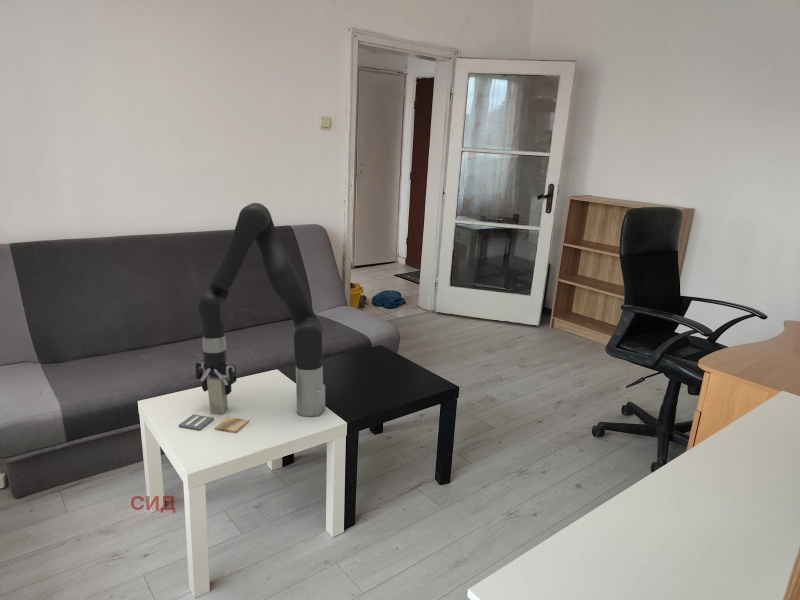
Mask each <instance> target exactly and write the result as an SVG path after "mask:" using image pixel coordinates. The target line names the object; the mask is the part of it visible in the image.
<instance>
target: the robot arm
mask: <svg viewBox="0 0 800 600" xmlns="http://www.w3.org/2000/svg"><path fill="white" fill-rule="evenodd" d="M254 242H256V244H257V246H258V249H259V251H260V256H261V260H262V265H263V269H264V272H265V276H266V277H267V280H268V282H269V284H270V286H271V289H272V290H273V292H274V293H275V296H277V298H278V299H279V300H280V301H281V302H282V304H283V305H284V306H285V307H286V309H287V310H288V313H289V315H290V317H291V319H292V323H293V324H294V327H295V331H294V334H293V339H294V340H293V349H294V361H295V391H296V392H295V393H296V395H295V396H296V413H297V414H298V415H300V416H302V417H315V416H316V417H320V416H321V414H322V413H323V412H324V411H325V410H326V384H324V378H323V377H324V376H323V374H324V371H323V370H324V369H323V367H324V364H323V363H324V361H323V331H324V330H323V326H322V324H321V322H320V321H319V318H318V317H317V316H316V314H315V311H313V309H312V307H311V305H310V303H309V301H308V299H307V296H306V293H305V290H304V287H303V285H302V283H301V281H300V278H299V275H298V273H297V272H296V269H295V267H294V265H293V262H292V261H291V258H290V257H289V255H288V253H287V252H286V249H285V248H284V246H283V244H282V241H281V240H280V237H279V235H278V232H277V230H276V227H275V224H274V221H273V218H272V214H271V213H270V211H269V209H268V208H267V207H266V206H265V205H264V204H262V203H260V202H259V203H258V202H252V203H250V204H247V205H246V206H244V207H242V209H240V211H239V215H238V217H237V220H236V224H235V228H234V231H233V234H232V236H231V239H230V241H229V244H228V246H227V248H226V249H225V252H224V254H222V257H221V259H220V260H219V262H218V264H217V267H216V268H215V271H214V272H213V274H212V277H211V282H210V284H209V287H208V288H207V290H206V292H205V293H203V294H202V295H201V296H200V297H199V299H198V305H197V307H198V308H197V309H198V313H199V317H200V321H201V325H202V328H201V329H202V357H203V359H202V360H199V361H198V362H196V363H195V379H197V380H200V382H201V389H202V391H203V392H208V385H207V379H208V378H209V377H210V376H211V377H217V378H220V379H221V380H222V381H223V382H224V383H225V395H227V396H228V395H230V394H231V393H232V385H233V384H235V383H236V382H237V372H236V365H230V366H229V365H227V359H228V358H227V341H226V336H225V335H226V333H225V331H226V330H225V322H224V320H223V318H221V316H222V315H221V308H222V307H223V306H224V305H225V304H226V301H227V299H228V297H229V294H230V291H231V289H232V287H233V286H234V283H235V282H236V280H237V279H238V276H239V274H240V273H241V270H242V268H243V264H244V263H245V260H246V256H247V254H248V252H249V250H250V249H251V247H252V244H253V243H254ZM204 370H205V372H204ZM223 375H224V376H223Z"/></svg>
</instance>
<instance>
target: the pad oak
mask: <svg viewBox="0 0 800 600" xmlns="http://www.w3.org/2000/svg"><path fill="white" fill-rule="evenodd" d="M249 423H250V420H249V419H244V418H237V417H231V416H226V417H225V418H224V419H223V420H222V421H221V422H219V423H218V424H216V426H214V427H213V428H214V431H220V432H224V431H225V432H226V433H230V432H231V434H238V433H240V431H242V429H243V428H244V427H246V426H247V425H248V424H249ZM246 424H247V425H246ZM237 432H238V433H237Z"/></svg>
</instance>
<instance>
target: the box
mask: <svg viewBox="0 0 800 600" xmlns="http://www.w3.org/2000/svg"><path fill="white" fill-rule="evenodd" d="M223 376H224V374H223ZM207 385H208V390H207V394H208V403H209V405H208V406H209V413H210V414H220V415H223V414H225V413H226V412H227V411H228V409H229V404H228V403H229V402H228V401H229V400H228V395H225V383H224V382H223V381H222V380H221V379H220V378H217V377H211V376H209V377H208V378H207Z"/></svg>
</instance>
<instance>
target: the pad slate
mask: <svg viewBox="0 0 800 600" xmlns="http://www.w3.org/2000/svg"><path fill="white" fill-rule="evenodd" d="M214 420H215V417H213V416H206V415H200V414H192V415H190V416H189V417H187V418H186V419H185V420H183V421H181V422H180V423H179V424H178V428H180V429H181V428H182V429H188V430H193V431H198V432H199V431H202V430H203V429H204V428H205V427H207V426H208V425H210V424H211V423H212V422H213V421H214Z"/></svg>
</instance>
